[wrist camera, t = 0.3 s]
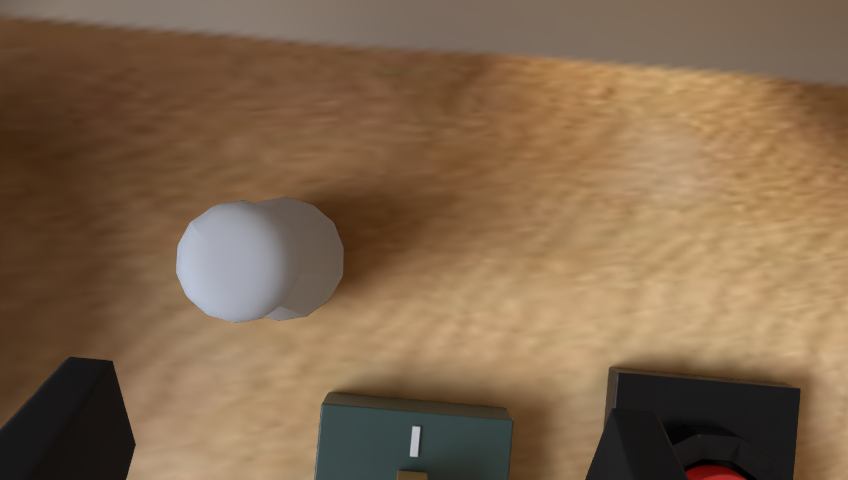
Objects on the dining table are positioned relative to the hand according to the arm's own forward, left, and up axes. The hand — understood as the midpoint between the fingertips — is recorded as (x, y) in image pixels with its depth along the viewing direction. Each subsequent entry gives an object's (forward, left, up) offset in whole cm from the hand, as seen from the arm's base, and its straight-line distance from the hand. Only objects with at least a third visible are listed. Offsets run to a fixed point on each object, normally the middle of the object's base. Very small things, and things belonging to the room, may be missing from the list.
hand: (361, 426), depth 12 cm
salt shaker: (+2, +5, -29) cm, 29 cm away
